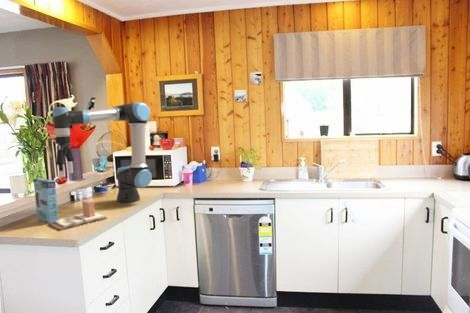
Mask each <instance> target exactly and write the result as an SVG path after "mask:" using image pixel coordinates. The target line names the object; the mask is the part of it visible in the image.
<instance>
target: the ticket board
mask: <svg viewBox="0 0 470 313" xmlns="http://www.w3.org/2000/svg"><path fill="white" fill-rule="evenodd" d="M75 216H76V215H73V216H69V217H65V218H58V220H55V221H54V222H52V223H47V226H49V227H51V228H54V229H56V230H58V231H60V232H61V231H64V230H69V229H72V228H77V227H81V226H85V225H88V223H89V224H93V223H96V221H97V222H102V221H105V220H107V219H108V218H107V216H104V217H103V218H99V219H95V220H91V221H87V222H86V221H85V220H83V219H80V218H78V217H75ZM92 222H93V223H92ZM84 224H85V225H84ZM80 225H81V226H80Z"/></svg>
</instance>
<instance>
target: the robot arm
mask: <svg viewBox="0 0 470 313" xmlns="http://www.w3.org/2000/svg"><path fill="white" fill-rule="evenodd" d="M150 117H151V109H150V108H149V106H148V105H147V104H146V103H145V102H138V101H137V102H130V103H129V102H128V103H125V104H120V105H115V106H112V107H109V108H96V109H95V108H94V109H84V110H69V109H68V107H66V106H63V107H60V106H59V107H53V108H52V119H53V120H52V121H53V127H54V128H53V129H54V130H53V133H54V136H55V138H54V141H55V144H57V146H56V151H57V152H56V162H55V164H56V166H58V174H59V178H65V177H66V172H67V174H73V173H74V169H73V162H74V160H75V159H74V157H73V153H72V149H71V145H70V144H71V142H72V141H71V138H72V137H71V129H70V125H72V126H73V125H87V124H89V123H94V122H95V123H97V122H105V121H114V122H127V124H128V125H129V126H130V140H131V141H130V144H131V147H130V148H131V149H130V150H131V163H130V165H129V166H123V167H118V168H117V170H116V176H117V188H118V189H117V190H118V191H117V194H116V202H117V203H119V204H128V203H134V202H137V201H140V200H141V197H140V196H141V195H140V194H139V191H138V189H137V188H145V187H148V186H149V185H150V184H151V182H152V179H153V176H152V175H153V174H152V172H151V171H150V169H149V166H148V164H146V128H145V127H146V125H147V124H148V120H149V119H150ZM65 159H66V168H67V169H66V168H65V164H64V163H65ZM66 170H67V171H66Z"/></svg>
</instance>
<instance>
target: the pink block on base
mask: <svg viewBox="0 0 470 313" xmlns="http://www.w3.org/2000/svg"><path fill="white" fill-rule="evenodd" d="M81 202H82V203H81V204H82V213H81V214H77V215H74V216H75V217H78V218H80V219H83V220H85V221H86V222H87V221H91V220H95V219H99V218H103V217H105V215H104V214H100V213H97V212H96V210H95V202H94V201H92V200H88V199H86V200H82V201H81Z"/></svg>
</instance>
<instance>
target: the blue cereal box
mask: <svg viewBox="0 0 470 313" xmlns="http://www.w3.org/2000/svg"><path fill="white" fill-rule="evenodd" d="M33 184H34V185H33V186H34V189H33V190H34V198H35V210H36V218H37V219H39V220H40V221H41V220H42V221H44V222H45V223H47V224H48V223H52V222H54V221H55V220H59V211H58V210H59V209H58V199H57V198H58V197H57V188H56V187H57V186H56V181H55V180H51V179H47V178H42V177H41V178H40V177H39V178H34V179H33Z"/></svg>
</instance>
